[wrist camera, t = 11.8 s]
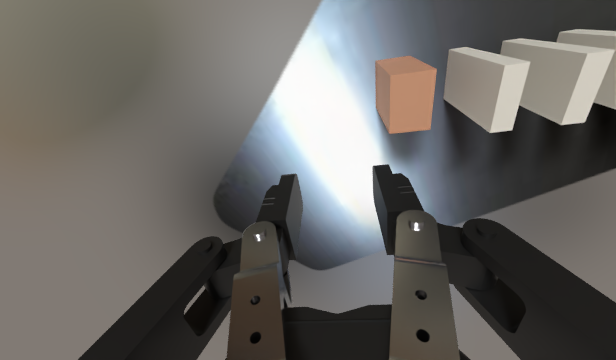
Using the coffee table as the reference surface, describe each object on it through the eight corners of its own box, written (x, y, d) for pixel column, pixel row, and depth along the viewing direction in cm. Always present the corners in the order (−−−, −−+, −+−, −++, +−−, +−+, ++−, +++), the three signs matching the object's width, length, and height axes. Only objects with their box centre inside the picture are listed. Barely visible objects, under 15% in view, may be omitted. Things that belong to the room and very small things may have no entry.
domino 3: (520, 38, 25) (615, 49, 17) (507, 90, 28) (584, 122, 20) (502, 41, 26) (587, 53, 17) (491, 92, 28) (561, 124, 20)
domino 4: (578, 29, 25) (706, 36, 16) (559, 83, 27) (662, 113, 19) (559, 32, 25) (676, 40, 17) (543, 85, 28) (637, 116, 19)
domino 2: (465, 47, 26) (530, 61, 18) (458, 96, 29) (512, 130, 20) (449, 49, 26) (504, 65, 18) (443, 98, 29) (489, 132, 21)
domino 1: (409, 55, 27) (436, 69, 20) (407, 103, 30) (430, 129, 23) (375, 60, 27) (390, 75, 21) (375, 107, 30) (389, 134, 23)
